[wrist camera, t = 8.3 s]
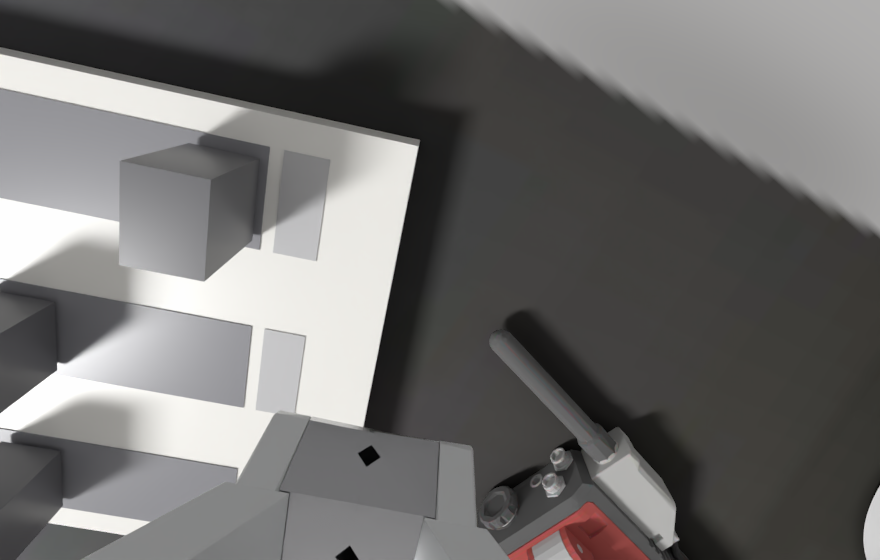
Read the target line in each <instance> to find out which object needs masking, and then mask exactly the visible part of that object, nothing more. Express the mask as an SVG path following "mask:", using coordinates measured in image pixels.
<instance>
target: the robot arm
mask: <svg viewBox="0 0 880 560" xmlns="http://www.w3.org/2000/svg"><path fill="white" fill-rule="evenodd" d="M863 541H864V550H865V555H866V559H867V560H880V487H879V488H878V490H877V492H876V494H875V496H874V498H873V500H872V502H871V505H870V507H869V510H868V513H867V516H866V521H865V526H864V539H863ZM81 560H510V559H509V557H508V556H507V555H506V553H505V552H504V551H503V549H502V548H501V547H500V546H499V544H498V543H497V542H496V540H495V539H494V538H493V536H492V535H491V534H490V533H489V531H488V530H487V529H483V528H478V527H477V520H476V499H475V478H474V456H473V449H472V447H471V446H470V445H463V444H457V443H451V442H444V441H439V442H437V441H431V440H426V439H421V438H415V437H410V436H404V435H399V434H393V433H388V432H382V431H377V430H375V429H370V428H365V427H360V426H356V425H351V424H346V423H341V422H337V421H332V420H327V419H322V418H318V417H312V418H311V417H310V416H307V415H302V414H297V413H292V412H286V411H281V410H279V411H278V412H277V413H276V414H274V415H273V417H272V419H271V421H270V422H269V424H268V426H267V428H266V430H265V431H264V433H263V435H262V437H261V439H260V440H259V442H258V444H257V446H256V448H255V449H254V451H253V453H252V455H251V457H250V458H249V460H248V462H247V464H246V466H245V467H244V469H243V471H242V473H241V475H240V476H239V478H238V480H237V482H236V484H235V483H229V482H224V483H222V484H220V485H218V486H216V487H214V488H212V489H211V490H209V491H207V492H205V493H203V494H201V495H199V496H198V497H196V498H194V499H192V500H190V501H188V502H186V503H185V504H183V505H181V506H179V507H177V508H175V509H174V510H172V511H170V512H168V513H166V514H164V515H162V516H161V517H159V518H157V519H155V520H153V521H151V522H149V523H148V524H146V525H144V526H142V527H140V528H138V529H136V530H135V531H133V532H131V533H129V534H127V535H125V536H123V537H122V538H120V539H118V540H116V541H114V542H112V543H111V544H109V545H107V546H105V547H103V548H101V549H99V550H98V551H96V552H94V553H92V554H90V555H88V556H86V557H85V558H83V559H81Z"/></svg>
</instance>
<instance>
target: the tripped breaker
mask: <svg viewBox="0 0 880 560" xmlns="http://www.w3.org/2000/svg"><path fill="white" fill-rule="evenodd" d="M259 164H260V158H257V157H252V156H248V155H243V154H238V153H234V152H229V151H224V150H220V149H215V148H210V147H206V146H201V145H196V144H192V143H187V144H183V145H179V146H175V147H171V148H167V149H164V150H160V151H156V152H152V153H148V154H144V155H140V156H136V157H132V158H128V159H124V160H120V186H119V265H121V266H126V267H131V268H136V269H142V270H147V271H152V272H157V273H162V274H167V275H172V276H177V277H183V278H188V279H193V280H198V281H203V282H205V281H206V280H207V279H208V278H209V277H210V276H212V275H213V274H214V273H215V272H216V271H217V270H218V269H220V268H221V267H222V266H223V265H224V264H225V263H227V262H228V261H229V260H230V259H231V258H232V257H234V256H235V255H236V254H237V253H238V252H239V251H241V250H242V249H243V248H244V247H245V246H246V245H248V244H249V243H250V242H251V241H252V237H253V227H254V216H255V206H256V195H257V185H258V174H259Z"/></svg>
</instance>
